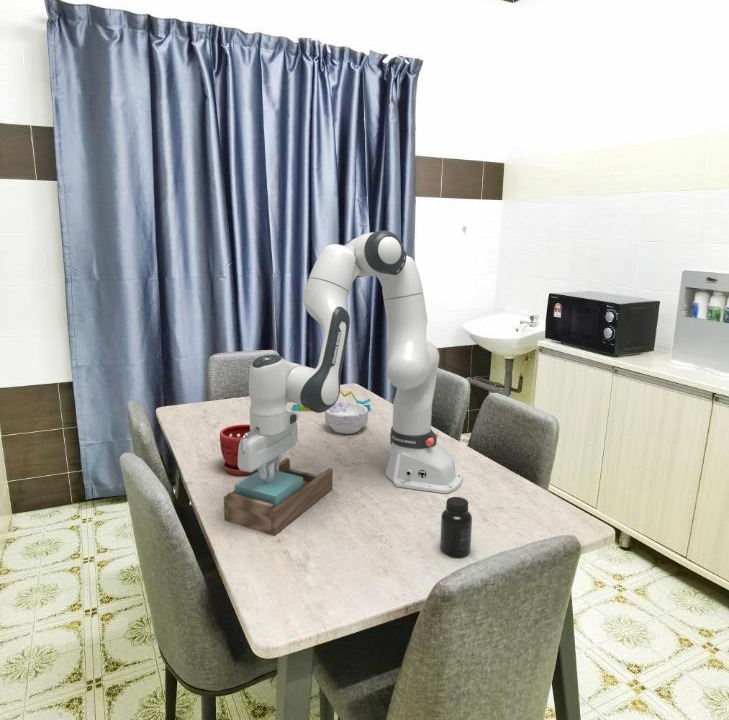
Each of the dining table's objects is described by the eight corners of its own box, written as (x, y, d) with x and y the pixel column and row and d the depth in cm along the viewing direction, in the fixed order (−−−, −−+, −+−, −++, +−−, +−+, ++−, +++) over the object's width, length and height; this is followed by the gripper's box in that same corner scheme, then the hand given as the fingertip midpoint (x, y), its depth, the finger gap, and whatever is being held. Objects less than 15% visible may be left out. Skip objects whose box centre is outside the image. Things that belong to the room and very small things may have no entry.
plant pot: (274, 469, 168) (274, 430, 165) (236, 482, 159) (235, 442, 156) (250, 455, 177) (249, 419, 174) (212, 467, 168) (210, 429, 166)
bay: (332, 489, 156) (332, 465, 154) (275, 535, 132) (274, 507, 131) (286, 478, 162) (286, 454, 161) (224, 520, 139) (223, 493, 137)
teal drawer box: (303, 501, 145) (303, 458, 143) (276, 523, 135) (275, 476, 132) (265, 491, 151) (264, 449, 148) (235, 511, 140) (233, 466, 137)
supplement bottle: (466, 541, 132) (470, 494, 129) (473, 558, 125) (476, 509, 122) (437, 541, 131) (440, 494, 129) (442, 558, 125) (445, 508, 122)
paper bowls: (352, 440, 192) (353, 418, 190) (316, 431, 199) (316, 409, 198) (375, 427, 204) (376, 406, 203) (340, 419, 212) (340, 399, 210)
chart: (369, 409, 225) (370, 372, 222) (370, 411, 222) (371, 375, 219) (292, 409, 223) (292, 372, 220) (292, 411, 220) (292, 374, 217)
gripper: (252, 438, 127) (253, 494, 130) (301, 412, 145) (302, 462, 148) (230, 433, 129) (232, 488, 133) (281, 408, 147) (282, 458, 151)
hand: (269, 474), depth 140 cm, fingers open, 3 cm apart
